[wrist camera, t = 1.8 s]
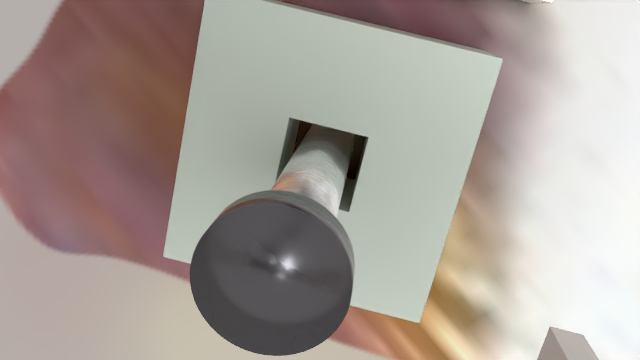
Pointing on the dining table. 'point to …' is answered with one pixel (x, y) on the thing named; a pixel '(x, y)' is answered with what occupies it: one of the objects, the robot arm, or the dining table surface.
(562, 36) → the dining table surface
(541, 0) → the tray
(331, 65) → the block
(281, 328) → the steel pin
